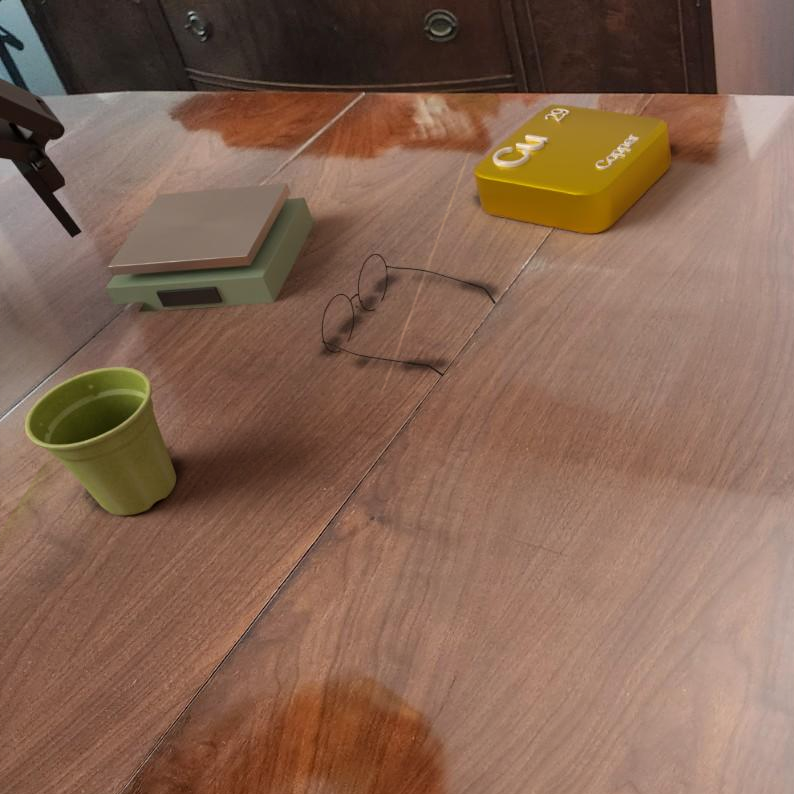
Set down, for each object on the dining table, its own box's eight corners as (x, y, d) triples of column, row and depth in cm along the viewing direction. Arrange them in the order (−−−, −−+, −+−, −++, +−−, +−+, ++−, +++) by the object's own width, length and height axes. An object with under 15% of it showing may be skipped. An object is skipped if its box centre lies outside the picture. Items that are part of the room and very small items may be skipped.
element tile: (601, 239, 104) (594, 191, 101) (474, 213, 111) (462, 167, 107) (679, 160, 112) (674, 113, 108) (555, 141, 118) (547, 96, 115)
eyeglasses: (501, 297, 100) (489, 247, 96) (438, 384, 93) (422, 334, 89) (394, 286, 104) (378, 238, 100) (325, 369, 97) (305, 320, 93)
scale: (118, 316, 108) (99, 281, 105) (171, 236, 117) (154, 201, 114) (273, 305, 105) (258, 269, 102) (314, 224, 114) (301, 188, 111)
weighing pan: (112, 275, 105) (107, 266, 104) (161, 203, 114) (157, 194, 113) (250, 265, 103) (246, 255, 102) (290, 192, 111) (287, 182, 110)
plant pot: (97, 460, 93) (43, 376, 86) (206, 443, 92) (161, 357, 86) (69, 540, 86) (9, 456, 80) (186, 521, 86) (135, 435, 79)
